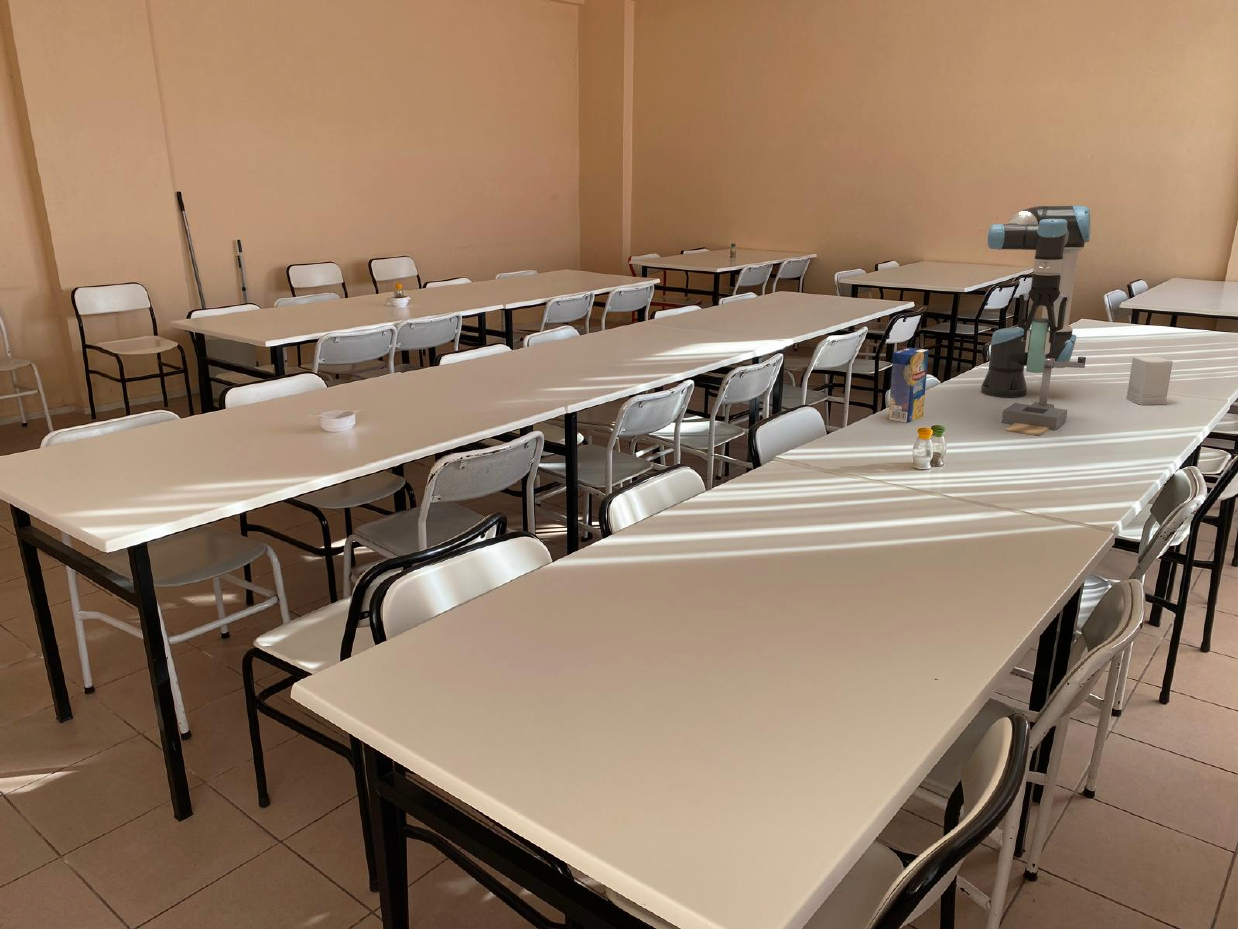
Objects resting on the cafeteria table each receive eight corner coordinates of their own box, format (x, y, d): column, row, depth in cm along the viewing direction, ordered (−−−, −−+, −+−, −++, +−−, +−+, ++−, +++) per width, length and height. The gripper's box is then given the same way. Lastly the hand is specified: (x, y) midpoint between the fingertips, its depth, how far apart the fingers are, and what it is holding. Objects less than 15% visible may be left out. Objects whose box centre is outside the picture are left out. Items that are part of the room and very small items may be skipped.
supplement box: (1166, 404, 299) (1174, 361, 295) (1139, 405, 299) (1146, 361, 295) (1151, 398, 308) (1158, 355, 303) (1125, 399, 308) (1132, 356, 304)
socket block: (1001, 422, 283) (1007, 372, 278) (1017, 411, 295) (1023, 363, 290) (1055, 430, 273) (1062, 378, 268) (1069, 418, 285) (1076, 369, 280)
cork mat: (1005, 430, 274) (1005, 429, 274) (1015, 423, 281) (1015, 421, 281) (1040, 436, 268) (1040, 434, 268) (1049, 428, 275) (1049, 426, 275)
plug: (1024, 371, 269) (1030, 319, 264) (1028, 368, 272) (1035, 317, 267) (1040, 373, 266) (1047, 320, 261) (1045, 370, 269) (1052, 318, 264)
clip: (1042, 366, 283) (1043, 356, 282) (1040, 364, 286) (1042, 354, 285) (1085, 368, 279) (1086, 358, 278) (1083, 366, 282) (1085, 356, 281)
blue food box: (923, 415, 293) (928, 349, 286) (907, 422, 285) (913, 355, 279) (903, 412, 298) (908, 347, 291) (888, 419, 290) (893, 352, 283)
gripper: (1011, 273, 263) (1002, 351, 270) (1076, 276, 252) (1065, 357, 259) (1018, 271, 268) (1010, 347, 275) (1083, 273, 257) (1072, 353, 265)
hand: (1037, 352), depth 267 cm, fingers closed on plug, 5 cm apart
